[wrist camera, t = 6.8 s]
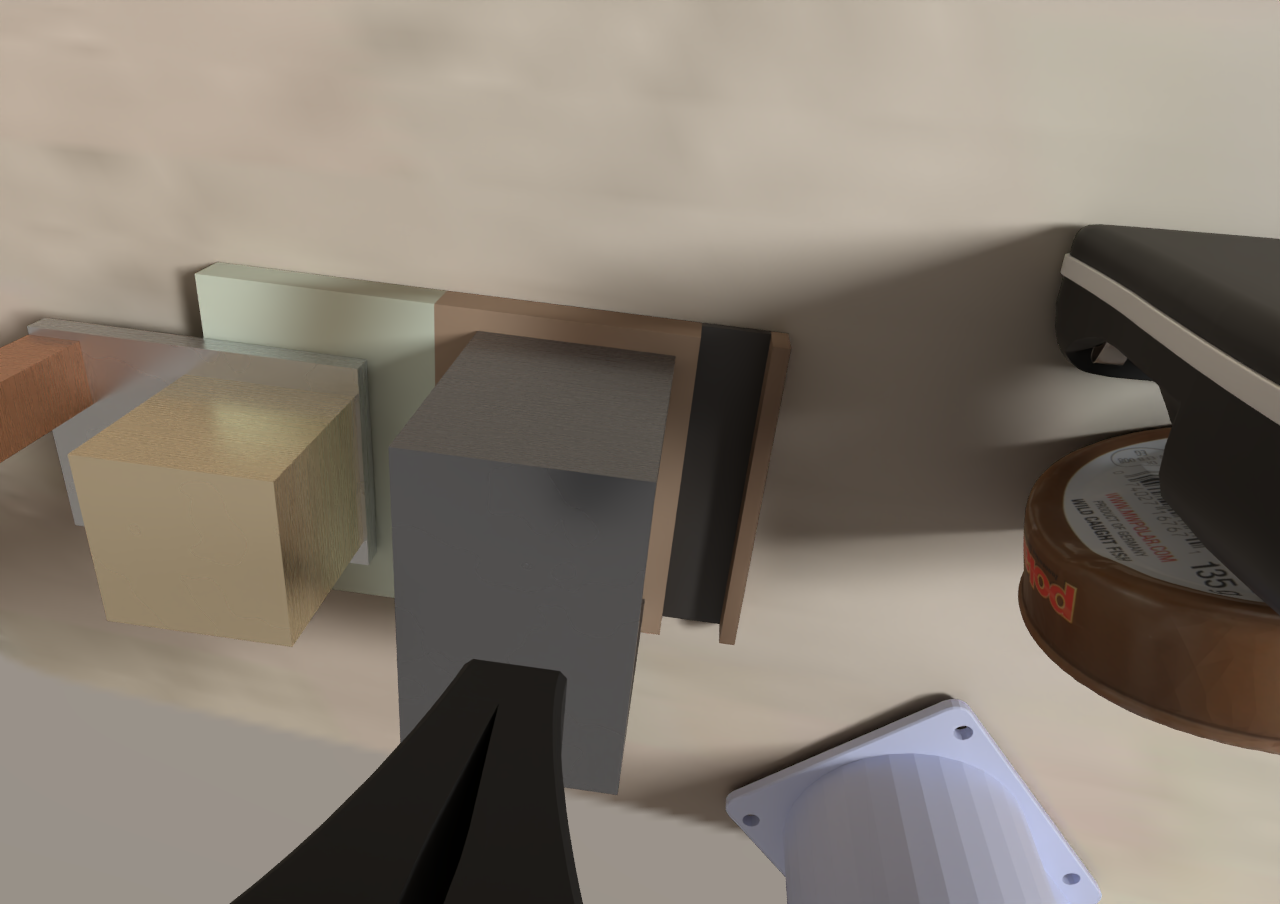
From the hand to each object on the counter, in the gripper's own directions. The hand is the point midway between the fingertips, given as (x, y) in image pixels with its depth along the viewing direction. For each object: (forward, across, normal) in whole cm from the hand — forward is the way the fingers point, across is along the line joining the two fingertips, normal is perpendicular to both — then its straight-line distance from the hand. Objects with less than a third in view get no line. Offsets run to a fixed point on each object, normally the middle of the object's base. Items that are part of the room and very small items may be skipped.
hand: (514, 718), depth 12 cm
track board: (+10, +3, +2) cm, 11 cm away
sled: (+9, +9, +2) cm, 13 cm away
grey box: (+9, +1, +2) cm, 10 cm away
